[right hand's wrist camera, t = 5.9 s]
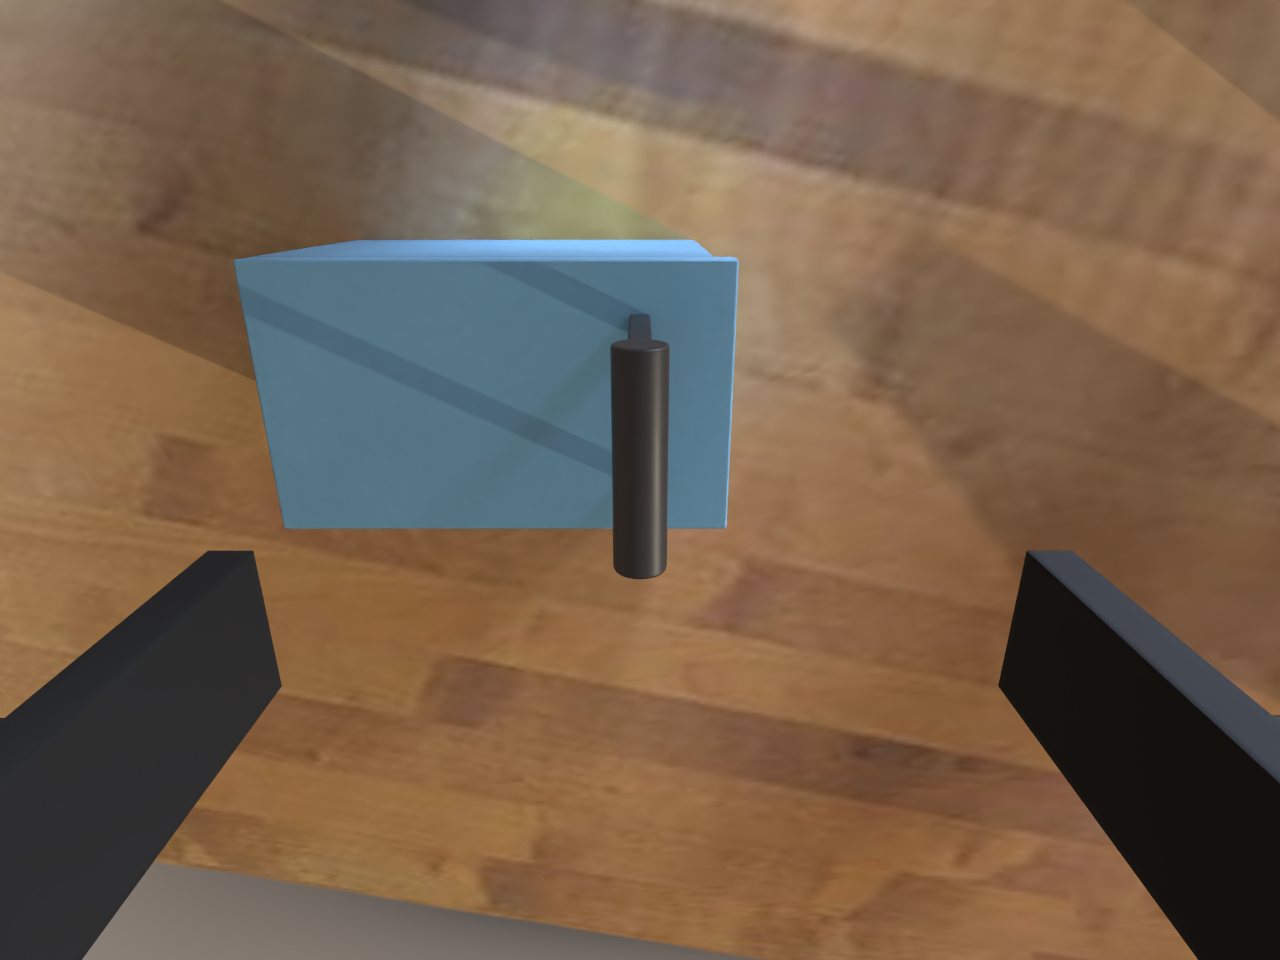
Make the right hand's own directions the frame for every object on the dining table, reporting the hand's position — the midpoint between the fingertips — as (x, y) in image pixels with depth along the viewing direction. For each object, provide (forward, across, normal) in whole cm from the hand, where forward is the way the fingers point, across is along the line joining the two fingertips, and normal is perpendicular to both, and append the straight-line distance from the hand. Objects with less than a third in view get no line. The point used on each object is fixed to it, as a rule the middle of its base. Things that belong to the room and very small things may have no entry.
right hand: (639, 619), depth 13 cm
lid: (+15, -5, 0) cm, 16 cm away
